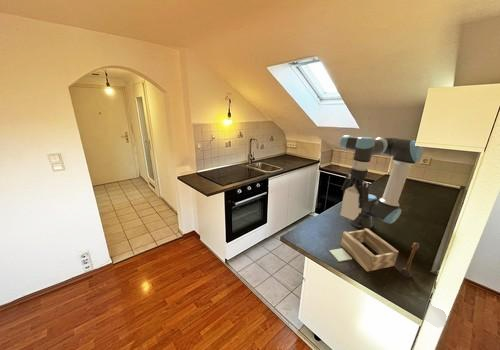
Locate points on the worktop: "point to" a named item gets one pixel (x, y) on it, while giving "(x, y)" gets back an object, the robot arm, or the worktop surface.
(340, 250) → the place mat
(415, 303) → the worktop surface
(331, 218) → the worktop surface
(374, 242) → the crate
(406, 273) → the wooden tabletop sculpture
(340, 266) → the worktop surface
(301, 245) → the worktop surface
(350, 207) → the milk carton
